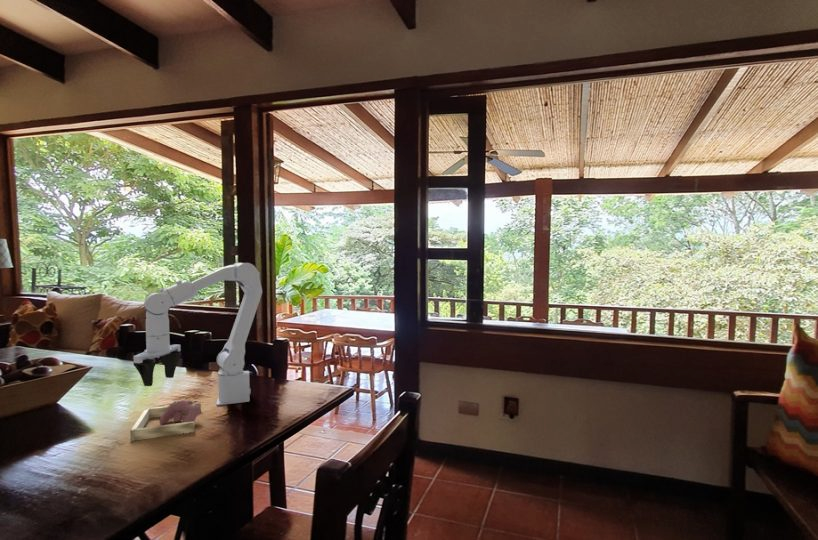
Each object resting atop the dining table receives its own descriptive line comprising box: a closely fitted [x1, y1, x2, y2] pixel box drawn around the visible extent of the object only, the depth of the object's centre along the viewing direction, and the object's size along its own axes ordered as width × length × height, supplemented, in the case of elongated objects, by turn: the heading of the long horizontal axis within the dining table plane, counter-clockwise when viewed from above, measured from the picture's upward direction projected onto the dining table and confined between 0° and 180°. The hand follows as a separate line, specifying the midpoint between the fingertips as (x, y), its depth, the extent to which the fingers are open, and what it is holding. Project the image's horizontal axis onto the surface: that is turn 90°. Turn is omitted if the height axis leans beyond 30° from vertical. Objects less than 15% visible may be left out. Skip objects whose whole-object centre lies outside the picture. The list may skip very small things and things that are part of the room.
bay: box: [129, 401, 202, 442], centre depth 110 cm, size 14×16×2 cm
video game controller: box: [159, 399, 201, 425], centre depth 111 cm, size 10×5×7 cm, turn 71°
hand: (159, 381), depth 117 cm, fingers open, 7 cm apart
